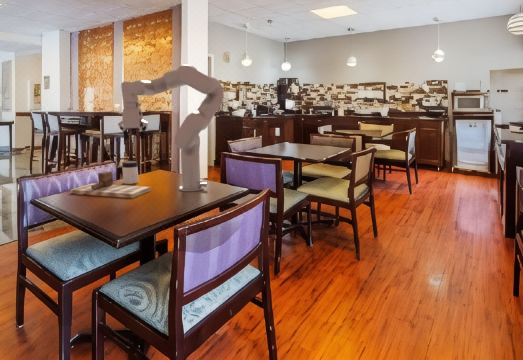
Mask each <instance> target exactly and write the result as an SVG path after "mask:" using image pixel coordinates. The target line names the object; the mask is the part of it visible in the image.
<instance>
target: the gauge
mask: <svg viewBox="0 0 523 360" xmlns="http://www.w3.org/2000/svg"><path fill="white" fill-rule="evenodd" d="M97 177H98V178H97V181H98V182H97V184H94V185H91V189H97V188H100V187H107V186H110V185H114V182H113V172H112V171H107V170H105V171H102V172H98V173H97Z"/></svg>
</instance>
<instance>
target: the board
mask: <svg viewBox="0 0 523 360" xmlns="http://www.w3.org/2000/svg"><path fill="white" fill-rule="evenodd" d="M94 184H98V182H97V183H93V182H92V183H89V184H85V185H82V186H78V187H75V188H72V189H70V194H71V193H74V194H73V195H84V194H86V195H87V196H97V197H98V196H99V197H101V196H102V197H112V198H125V199H129V198H130V199H134V198H136V197H139V196H141V195H144V194H146V193H148V192H149V193H150V192H151V191H152V190H151V186H144V185H143V186H142V185H141V186H140V185H139V186H138V185H128V184H124V185H123V184H113V185H110V186H107V187H100V188H97V189H91V185H94Z"/></svg>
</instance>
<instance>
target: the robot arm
mask: <svg viewBox="0 0 523 360" xmlns="http://www.w3.org/2000/svg"><path fill="white" fill-rule="evenodd" d="M120 86H121V87H120V88H121V94H122V95H121V97H122V102H123V103H122V105H123V109H122V115H121V117H122V120H121V121H120V122H118V123H117V125H118V127H119V129H120V131H121V132H122V133H123V139H124V140H129V139H130V136H129V131H128V130H129V129H139V136H140V137H139V138H140V140H145V139H146V130H147V129H148V126H149V122H148V121H146V120H144V115H143V112H142V109H141V108H140V107H141V103H139V96H142V97H143V96H149V97H150V96H155V95H157V94H160V93H165V92H168V91H170V90H172V89H177V88H180V87H183V86H188V87H190V88H192V89H194V90H195V91H197V92H199V93H201V94H204V95H206V96H205V98H204V99H203V101H201V102H200V105H199V107H198V108H197V110H195V111H193V112H190V113H189V114H188V115H187V116H186V117H185V119H184V120H183V121H182V124H181V125H180V127H179V128H178V130H177V132H176V133H175V135H174V144H175V147H176V148H178V149H180V166H181V167H180V168H181V185H180V186H179V188H178V189H179V191H181V192H199V191H202V190H203V189H204V188H207V187H208V183H207V182H203V180H202V179H201V169H200V167H201V166H200V165H201V162H200V146H201V138H200V133H201V132H202V131H205V130H206V129H207V128H208V127H209V124H210V123H211V121H212V119H213V118H214V116H215V115H216V113H217V112H218V109H219V108H220V106H221V104H222V102H223V99H224V88H223V86H222V84H221V82H220V81H219V80H218V79H217V78H215V77H212V76H209V75H207V74H204V73H202V72H201V71H199V70H198V69H197V68H196V67H195V66H193V65H190V64H182V65H180V66H179V67H178V68H175V69H173V70H170V71H169V70H168V71H166V72H164V73H163V75H162V76H160V77H158V78H155V79H151V80H141V79H139V80H134V81H122V82H121V84H120Z"/></svg>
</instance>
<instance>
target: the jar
mask: <svg viewBox="0 0 523 360" xmlns="http://www.w3.org/2000/svg"><path fill="white" fill-rule="evenodd" d="M121 166H122V167H121V168H122V181H123V182H122V183H123V184H124V185H133V184H134V183H135V184H138V183H139V171H138V161H137V160H136V161H135V160H126V161H122V163H121Z"/></svg>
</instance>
